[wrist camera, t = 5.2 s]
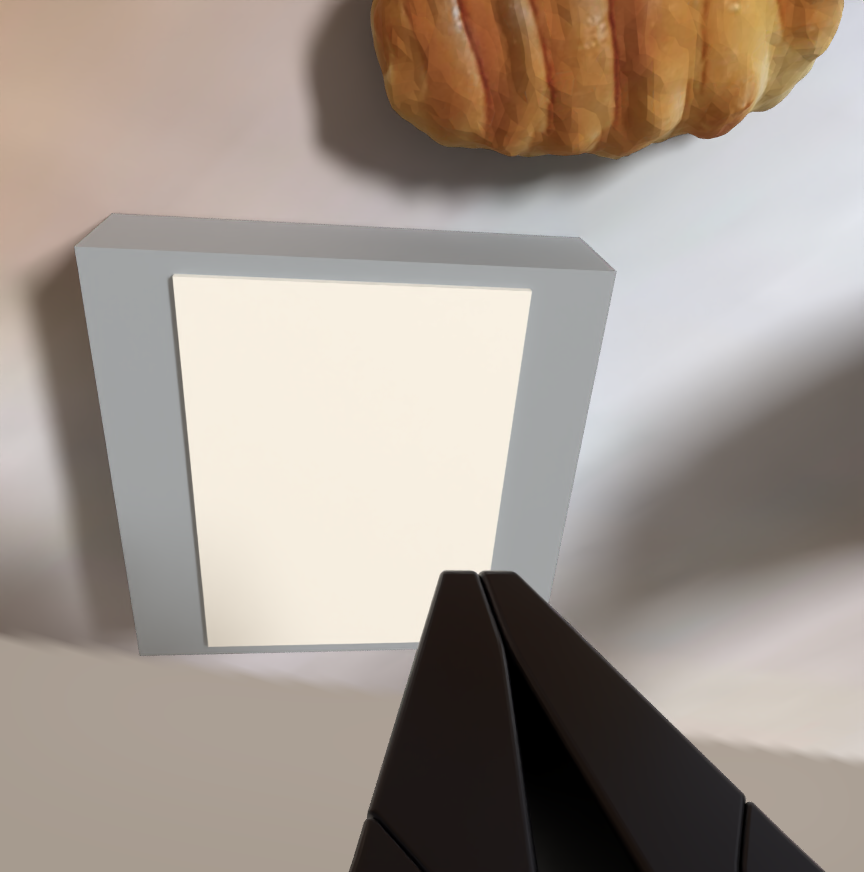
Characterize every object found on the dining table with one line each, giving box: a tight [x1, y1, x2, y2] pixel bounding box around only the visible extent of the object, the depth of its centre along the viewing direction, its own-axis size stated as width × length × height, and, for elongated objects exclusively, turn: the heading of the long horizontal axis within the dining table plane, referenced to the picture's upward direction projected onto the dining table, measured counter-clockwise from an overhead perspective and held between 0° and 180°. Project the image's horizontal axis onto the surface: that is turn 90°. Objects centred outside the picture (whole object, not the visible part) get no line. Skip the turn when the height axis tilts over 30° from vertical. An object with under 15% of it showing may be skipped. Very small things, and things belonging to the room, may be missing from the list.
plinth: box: [74, 213, 617, 656], centre depth 21 cm, size 12×12×3 cm
